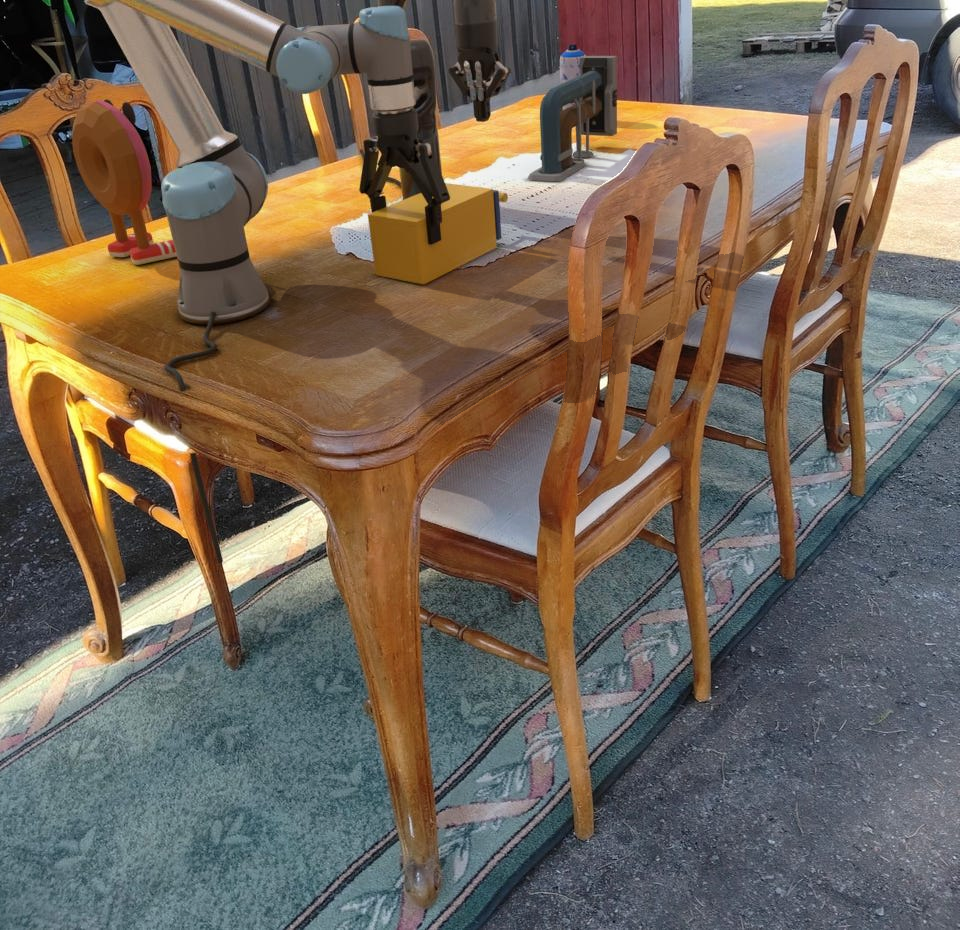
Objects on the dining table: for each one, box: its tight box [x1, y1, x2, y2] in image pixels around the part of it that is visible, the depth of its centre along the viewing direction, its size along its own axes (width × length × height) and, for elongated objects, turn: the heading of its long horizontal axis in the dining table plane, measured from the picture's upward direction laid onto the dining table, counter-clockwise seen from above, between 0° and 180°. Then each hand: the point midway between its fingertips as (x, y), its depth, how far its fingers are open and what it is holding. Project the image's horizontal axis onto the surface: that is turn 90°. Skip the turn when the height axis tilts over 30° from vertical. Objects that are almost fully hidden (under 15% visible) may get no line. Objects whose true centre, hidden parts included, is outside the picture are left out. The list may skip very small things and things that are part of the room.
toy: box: [71, 98, 177, 266], centre depth 188 cm, size 21×10×30 cm, turn 47°
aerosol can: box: [559, 43, 587, 110], centre depth 273 cm, size 8×8×20 cm
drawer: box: [493, 189, 509, 241], centre depth 181 cm, size 27×10×9 cm, turn 143°
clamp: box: [527, 55, 618, 182], centre depth 230 cm, size 35×9×21 cm, turn 151°
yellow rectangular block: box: [367, 182, 498, 285], centre depth 177 cm, size 22×11×11 cm, turn 143°
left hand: (408, 237), depth 171 cm, fingers closed on yellow rectangular block, 11 cm apart
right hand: (482, 120), depth 180 cm, fingers closed
